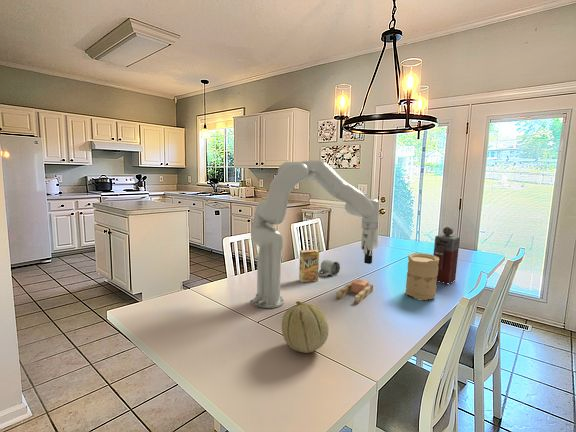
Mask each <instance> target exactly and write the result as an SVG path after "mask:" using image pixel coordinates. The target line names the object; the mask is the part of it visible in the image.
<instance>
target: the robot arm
mask: <svg viewBox="0 0 576 432" xmlns="http://www.w3.org/2000/svg"><path fill="white" fill-rule="evenodd" d="M304 181H315V182H316V183H317V184H318V185H319V186H320V187H321V188H322V189H324V190H325V192H327V193H328V194H329V195H330V196H331V197H333V198H335V199H336V200H340V201H342V202H344V203H345V205H344V209H345V211H346V213H347V214H349V215H352V216H356V217H359V218H361V229H362V231H361V232H362V233H361V245H360V246H361V247H360V248H361V250H363V252H362V253H363V254H364V259H363V260H364V261H363V262H364V264H366V265H367V264H368V265H371V264H373V252H374V250H375V249H376V248H378V243H379V241H378V238H379V232H378V229H379V218H380V217H379V215H380V200H378V199H376V198H368V197H367V196H366V195H365V194H364V193H363V192H361V191H360V190H359V189H357V188H356V187H354V186H353V185H351V184H349V183H348V182H347V181H345V180H344V179H343V178H342V177H341V176H340V175H339V174H338V173H337V172H336V170H334V169H333V167H331V166H330V164H328V163H327V162H325V161H324V160H304V161H285V162H283V163H281V164H280V166H279V167H278V169H277V174H276V175H275V176H274V177H273V179H272V181H271V183H270V185H269V189H268V193H267V198H265V199H263V200H261V201H259V202H258V203H257V205H256V207H255V211H254V215H253V219H252V225H251V229H250V237H251V240H252V242H253V243H254V245H256V246H257V247H258V248H259V249H258V254H257V263H256V266H257V267H256V271H257V273H256V276H257V277H256V282H257V283H256V294H255V297H253V298H252V299H250V303H249V304H250V305H252V306H253V305H255V306H256V307H258V308H261V309H275V308H276V309H277V308H279V307H281V306H283V305H284V304H285V303H284V301H285V300H284V298H283V297H282V296H281V275H282V274H281V261H282V252H283V251H282V250H283V248H284V246H283V245H284V238H283V235H282V233H281V232H280V231H279V230H278V229H276V228H274V226H277V225H281V224H282V223H283V222H284V220H285V219H286V218H285V217H286V215H287V209H288V203H289V199H290V195H291V192H292V191H293V188H294V187H296V186H297V185H298V184H299V183H303V182H304Z"/></svg>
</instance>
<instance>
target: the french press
mask: <svg viewBox="0 0 576 432" xmlns="http://www.w3.org/2000/svg"><path fill="white" fill-rule="evenodd" d="M442 229H443V230H442V233H440V234H438V235H436V236H435V238H434V248H433V255H434V256H436V257H438V258H439V264H438V276H437V277H436V278H437V281H440V282H444V283H449V284H450V283H451V282H453V281H454V280H455V281H456V277H457V269H458V268H457V266H458V258H459V250H460V249H459V248H460V239H461V238H460V236H459V235H454V229H453V227H452V226H446V227H444V228H442ZM455 281H454V282H455ZM440 282H439V283H440ZM454 282H453V283H454ZM451 284H452V283H451ZM451 284H450V285H451Z"/></svg>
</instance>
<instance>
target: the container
mask: <svg viewBox="0 0 576 432" xmlns="http://www.w3.org/2000/svg"><path fill="white" fill-rule="evenodd" d="M438 264H439V258H438V257H436V256H434V254H430V253H426V252H425V253H424V252H423V253H422V252H413V253H410V254H408V262H407V273H406V282H405V283H406V284H405V295H406V294H407V295H409V297H412V298H414V299H415V300H416V299H421V300H420V301H423V300H425V301H428V299H429V300H433V299H435V297H436V293H437V283H438V282H437V278H436V277H437V276H438ZM407 295H406V296H407Z"/></svg>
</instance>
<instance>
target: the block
mask: <svg viewBox="0 0 576 432" xmlns="http://www.w3.org/2000/svg"><path fill="white" fill-rule="evenodd" d="M350 282H351V291H350V293H354V294H358V293H360V292H361V291H362V290H363V289H364V288H366V287H367V286H368V285H369V282H370V281H368V280H363V279H360V278H355V279H354V281H353V280H352V281H350Z"/></svg>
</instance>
